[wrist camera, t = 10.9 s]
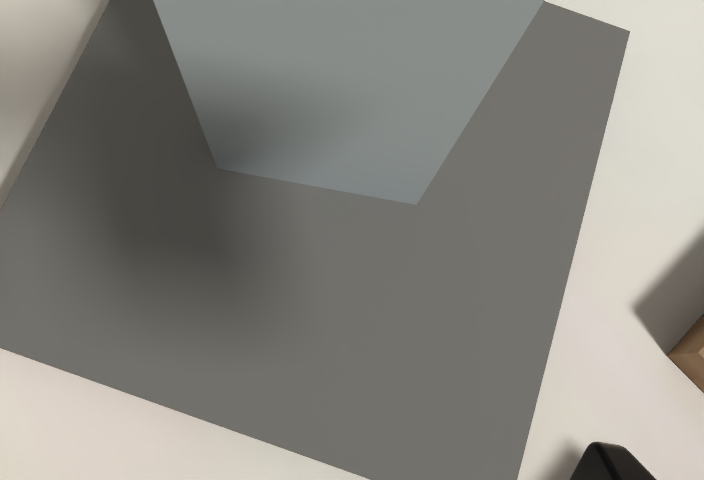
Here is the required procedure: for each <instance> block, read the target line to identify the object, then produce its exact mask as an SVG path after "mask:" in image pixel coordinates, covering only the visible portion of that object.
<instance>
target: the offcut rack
mask: <svg viewBox="0 0 704 480" xmlns="http://www.w3.org/2000/svg"><path fill="white" fill-rule="evenodd" d="M667 356H668V357H669V358H670V359H671V360H672V361H673V362H674V363H675V364H676V365H677V366H678V367H679V368H680V369H681V370H682V371H683V372H684V373H685V374H686V375H687V376H688V377H689V378H690V379H691V380H692V381H693V382H694V383H695V384H696V385H697V386H698V387H699V388H700V389H701V390H702V391H703V392H704V314H703V315H702V317H701V318H700V319H699V320H698V321H697V322H696V323H695V324H694V326H693V327H692V328H691V329H690V330H689V331H688V332H687V333H686V335H685V336H684V337H683V338H682V339H681V340H680V341H679V342H678V344H677V345H676V346H675V347H674V348H673V349H672V350H671V351H670V353H669V354H668V355H667Z"/></svg>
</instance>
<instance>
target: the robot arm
mask: <svg viewBox="0 0 704 480" xmlns="http://www.w3.org/2000/svg"><path fill="white" fill-rule="evenodd" d="M570 480H656V479H655V478H654V477H653V476H652V475H651V474H650V472H649V471H648V470H647V469H646V468H645V467H644V466H643V465H642V464H641V463H640V462H639V461H638V460H637V459H636V458H635V457H634V456H633V455H632V454H631V453H630V452H629V451H628V450H627V449H626V448H624V447H622V446H620V445H614V444H608V443H602V442H593V443H591V444H590V445H589V446H588V447H587V449H586V450H585V452H584V454H583V456H582V458H581V460H580V462H579V463H578V465H577V467H576V469H575V471H574V473H573V475H572V477H571V479H570Z"/></svg>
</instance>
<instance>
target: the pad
mask: <svg viewBox="0 0 704 480" xmlns="http://www.w3.org/2000/svg"><path fill="white" fill-rule="evenodd" d="M629 33H630V31H627V30H625V29H622V28H619V27H616V26H613V25H610V24H608V23H605V22H602V21H599V20H596V19H593V18H591V17H588V16H585V15H582V14H579V13H576V12H574V11H571V10H568V9H565V8H562V7H559V6H556V5H554V4H551V3H548V2H545V1H544V2H543V3H542V5H541V7H540V8H539V10H538V11H537V13H536V15H535V16H534V18H533V19H532V21H531V23H530V24H529V26H528V27H527V29H526V30H525V32H524V34H523V35H522V37H521V38H520V40H519V42H518V43H517V45H516V46H515V48H514V50H513V51H512V53H511V54H510V56H509V58H508V59H507V61H506V62H505V64H504V66H503V67H502V69H501V70H500V72H499V74H498V75H497V77H496V78H495V80H494V82H493V83H492V85H491V86H490V88H489V90H488V91H487V93H486V94H485V96H484V98H483V99H482V101H481V102H480V104H479V106H478V107H477V109H476V110H475V112H474V114H473V115H472V117H471V118H470V120H469V122H468V123H467V125H466V126H465V128H464V130H463V131H462V133H461V134H460V136H459V138H458V139H457V141H456V142H455V144H454V146H453V147H452V149H451V150H450V152H449V154H448V155H447V157H446V158H445V160H444V162H443V163H442V165H441V166H440V168H439V170H438V171H437V173H436V174H435V176H434V178H433V179H432V181H431V182H430V184H429V186H428V187H427V189H426V190H425V192H424V194H423V195H422V197H421V198H420V200H419V202H418V203H417V205H414V204H409V203H403V202H398V201H392V200H387V199H381V198H376V197H370V196H365V195H359V194H354V193H349V192H343V191H338V190H332V189H327V188H321V187H316V186H310V185H305V184H299V183H294V182H288V181H283V180H278V179H272V178H267V177H261V176H256V175H250V174H245V173H239V172H234V171H228V170H223V169H218V168H217V167H216V164H215V161H214V159H213V156H212V153H211V151H210V148H209V146H208V143H207V140H206V138H205V135H204V132H203V130H202V127H201V125H200V122H199V119H198V117H197V114H196V111H195V109H194V106H193V104H192V101H191V98H190V96H189V93H188V90H187V88H186V85H185V83H184V80H183V77H182V75H181V72H180V69H179V67H178V64H177V61H176V59H175V56H174V54H173V51H172V48H171V46H170V43H169V40H168V38H167V35H166V33H165V30H164V27H163V25H162V22H161V19H160V17H159V14H158V12H157V9H156V6H155V4H154V1H153V0H110V2H109V4H108V6H107V8H106V10H105V11H104V13H103V15H102V17H101V19H100V21H99V23H98V25H97V27H96V29H95V31H94V33H93V34H92V36H91V38H90V40H89V42H88V44H87V46H86V48H85V50H84V52H83V54H82V56H81V57H80V59H79V61H78V63H77V65H76V67H75V69H74V71H73V73H72V75H71V77H70V79H69V80H68V82H67V84H66V86H65V88H64V90H63V92H62V94H61V96H60V98H59V100H58V102H57V103H56V105H55V107H54V109H53V111H52V113H51V115H50V117H49V119H48V121H47V123H46V125H45V126H44V128H43V130H42V132H41V134H40V136H39V138H38V140H37V142H36V144H35V146H34V148H33V150H32V151H31V153H30V155H29V157H28V159H27V161H26V163H25V165H24V167H23V169H22V171H21V173H20V174H19V176H18V178H17V180H16V182H15V184H14V186H13V188H12V190H11V192H10V194H9V196H8V197H7V199H6V201H5V203H4V205H3V207H2V209H1V211H0V348H2V349H4V350H7V351H10V352H13V353H16V354H19V355H21V356H24V357H27V358H30V359H33V360H35V361H38V362H41V363H44V364H47V365H50V366H52V367H55V368H58V369H61V370H64V371H66V372H69V373H72V374H75V375H78V376H81V377H83V378H86V379H89V380H92V381H95V382H97V383H100V384H103V385H106V386H109V387H112V388H114V389H117V390H120V391H123V392H126V393H128V394H131V395H134V396H137V397H140V398H143V399H145V400H148V401H151V402H154V403H157V404H159V405H162V406H165V407H168V408H171V409H174V410H176V411H179V412H182V413H185V414H188V415H190V416H193V417H196V418H199V419H202V420H205V421H207V422H210V423H213V424H216V425H219V426H221V427H224V428H227V429H230V430H233V431H235V432H238V433H241V434H244V435H247V436H250V437H252V438H255V439H258V440H261V441H264V442H266V443H269V444H272V445H275V446H278V447H281V448H283V449H286V450H289V451H292V452H295V453H297V454H300V455H303V456H306V457H309V458H312V459H314V460H317V461H320V462H323V463H326V464H328V465H331V466H334V467H337V468H340V469H343V470H345V471H348V472H351V473H354V474H357V475H359V476H362V477H365V478H368V479H371V480H517V478H518V474H519V470H520V466H521V462H522V458H523V454H524V450H525V446H526V442H527V438H528V434H529V430H530V426H531V422H532V418H533V414H534V410H535V406H536V402H537V398H538V395H539V391H540V387H541V383H542V379H543V375H544V371H545V367H546V363H547V359H548V355H549V351H550V347H551V343H552V339H553V335H554V331H555V327H556V323H557V319H558V315H559V311H560V307H561V303H562V299H563V295H564V291H565V287H566V283H567V279H568V275H569V271H570V267H571V264H572V260H573V256H574V252H575V248H576V244H577V240H578V236H579V232H580V228H581V224H582V220H583V216H584V212H585V208H586V204H587V200H588V196H589V192H590V188H591V184H592V180H593V176H594V172H595V168H596V164H597V160H598V156H599V152H600V148H601V144H602V140H603V137H604V133H605V129H606V125H607V121H608V117H609V113H610V109H611V105H612V101H613V97H614V93H615V89H616V85H617V81H618V77H619V73H620V69H621V65H622V61H623V57H624V53H625V49H626V45H627V41H628V37H629Z"/></svg>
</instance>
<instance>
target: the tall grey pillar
mask: <svg viewBox="0 0 704 480" xmlns="http://www.w3.org/2000/svg"><path fill="white" fill-rule="evenodd" d="M153 1H154V4H155V6H156V9H157V12H158V14H159V17H160V19H161V22H162V25H163V27H164V30H165V33H166V35H167V38H168V40H169V43H170V46H171V48H172V51H173V54H174V56H175V59H176V61H177V64H178V67H179V69H180V72H181V75H182V77H183V80H184V83H185V85H186V88H187V90H188V93H189V96H190V98H191V101H192V104H193V106H194V109H195V111H196V114H197V117H198V119H199V122H200V125H201V127H202V130H203V132H204V135H205V138H206V140H207V143H208V146H209V148H210V151H211V153H212V156H213V159H214V161H215V164H216V167H217V168H218V169H223V170H228V171H234V172H239V173H245V174H250V175H256V176H261V177H267V178H272V179H278V180H283V181H288V182H294V183H299V184H305V185H310V186H316V187H321V188H327V189H332V190H338V191H343V192H349V193H354V194H359V195H365V196H370V197H376V198H381V199H387V200H392V201H398V202H403V203H409V204H414V205H417V203H418V202H419V200H420V198H421V197H422V195H423V194H424V192H425V190H426V189H427V187H428V186H429V184H430V182H431V181H432V179H433V178H434V176H435V174H436V173H437V171H438V170H439V168H440V166H441V165H442V163H443V162H444V160H445V158H446V157H447V155H448V154H449V152H450V150H451V149H452V147H453V146H454V144H455V142H456V141H457V139H458V138H459V136H460V134H461V133H462V131H463V130H464V128H465V126H466V125H467V123H468V122H469V120H470V118H471V117H472V115H473V114H474V112H475V110H476V109H477V107H478V106H479V104H480V102H481V101H482V99H483V98H484V96H485V94H486V93H487V91H488V90H489V88H490V86H491V85H492V83H493V82H494V80H495V78H496V77H497V75H498V74H499V72H500V70H501V69H502V67H503V66H504V64H505V62H506V61H507V59H508V58H509V56H510V54H511V53H512V51H513V50H514V48H515V46H516V45H517V43H518V42H519V40H520V38H521V37H522V35H523V34H524V32H525V30H526V29H527V27H528V26H529V24H530V23H531V21H532V19H533V18H534V16H535V15H536V13H537V11H538V10H539V8H540V7H541V5H542V3H543V2H544V0H153Z"/></svg>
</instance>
